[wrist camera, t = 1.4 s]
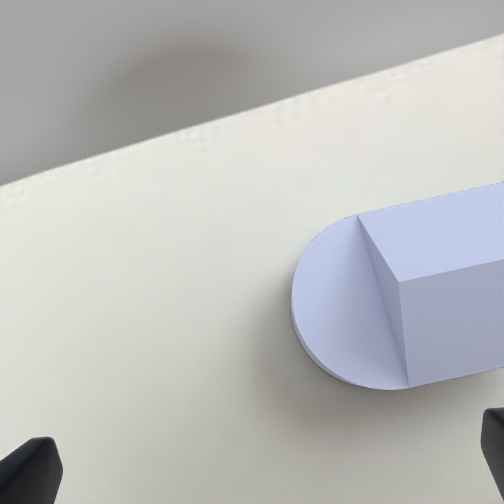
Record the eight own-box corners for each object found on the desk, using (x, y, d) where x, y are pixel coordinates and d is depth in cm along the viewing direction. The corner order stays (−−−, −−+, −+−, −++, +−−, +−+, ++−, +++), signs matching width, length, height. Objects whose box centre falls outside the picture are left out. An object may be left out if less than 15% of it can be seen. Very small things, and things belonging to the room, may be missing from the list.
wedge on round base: (485, 203, 26) (275, 250, 26) (552, 147, 19) (272, 209, 20) (544, 352, 23) (311, 403, 23) (644, 345, 17) (321, 414, 17)
